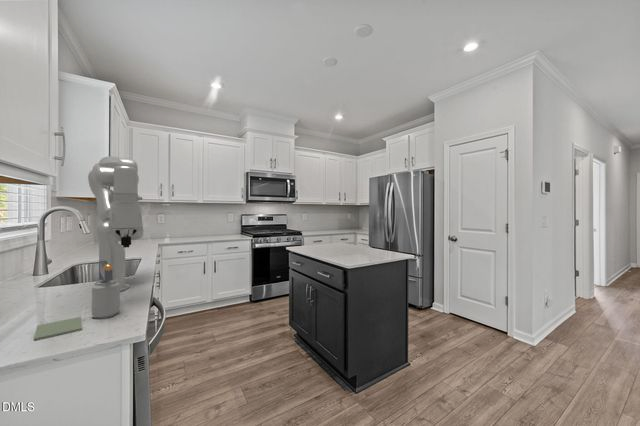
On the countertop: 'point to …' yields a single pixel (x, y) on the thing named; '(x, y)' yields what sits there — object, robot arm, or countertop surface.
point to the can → (105, 298)
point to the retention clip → (105, 271)
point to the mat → (58, 328)
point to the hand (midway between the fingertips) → (126, 247)
